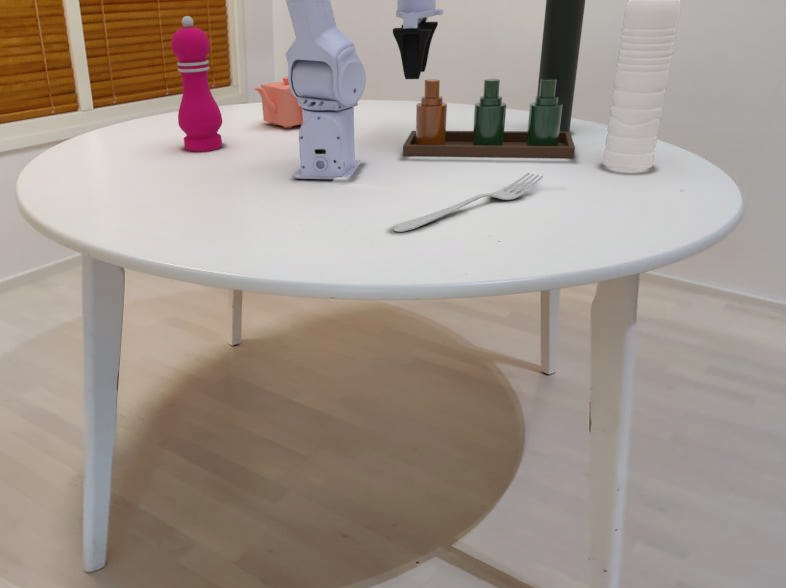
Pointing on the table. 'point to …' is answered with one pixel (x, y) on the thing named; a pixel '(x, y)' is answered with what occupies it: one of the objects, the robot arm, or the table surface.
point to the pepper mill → (196, 89)
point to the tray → (490, 147)
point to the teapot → (280, 104)
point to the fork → (500, 194)
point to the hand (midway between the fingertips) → (415, 75)
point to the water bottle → (640, 82)
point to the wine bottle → (562, 51)
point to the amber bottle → (431, 116)
